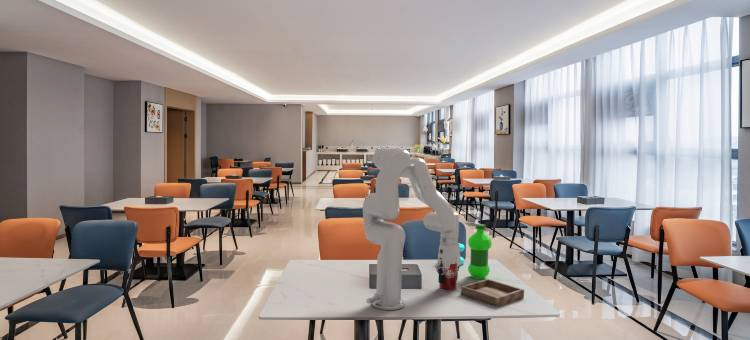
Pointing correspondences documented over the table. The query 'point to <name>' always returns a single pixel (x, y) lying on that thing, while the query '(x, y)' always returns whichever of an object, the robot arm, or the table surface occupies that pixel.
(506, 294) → the walnut tray
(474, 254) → the plastic bottle
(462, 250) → the donuts
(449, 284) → the soda can
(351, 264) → the table surface
